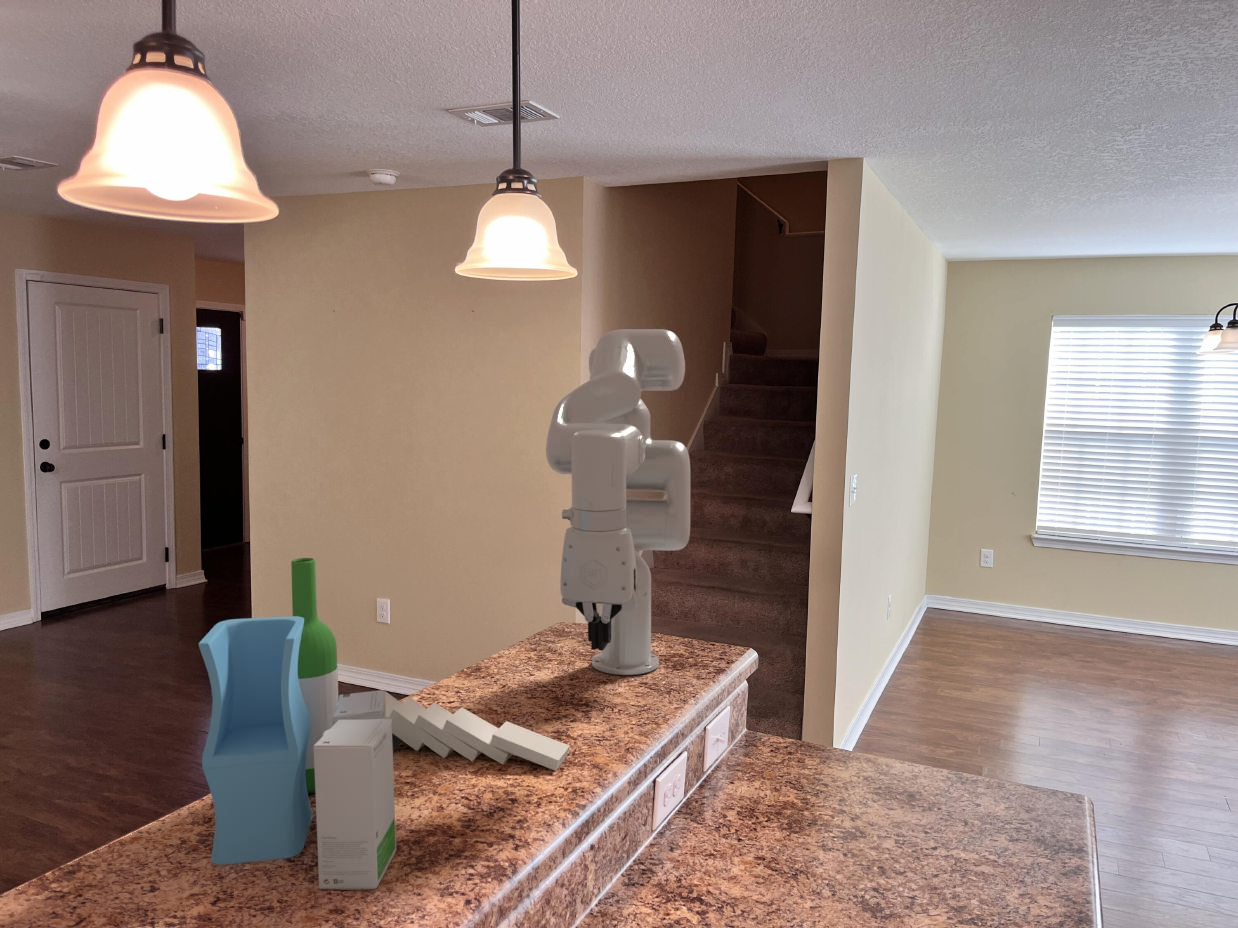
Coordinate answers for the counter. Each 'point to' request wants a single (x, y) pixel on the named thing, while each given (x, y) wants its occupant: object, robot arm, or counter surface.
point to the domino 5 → (530, 745)
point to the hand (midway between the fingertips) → (599, 646)
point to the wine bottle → (314, 660)
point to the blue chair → (256, 740)
